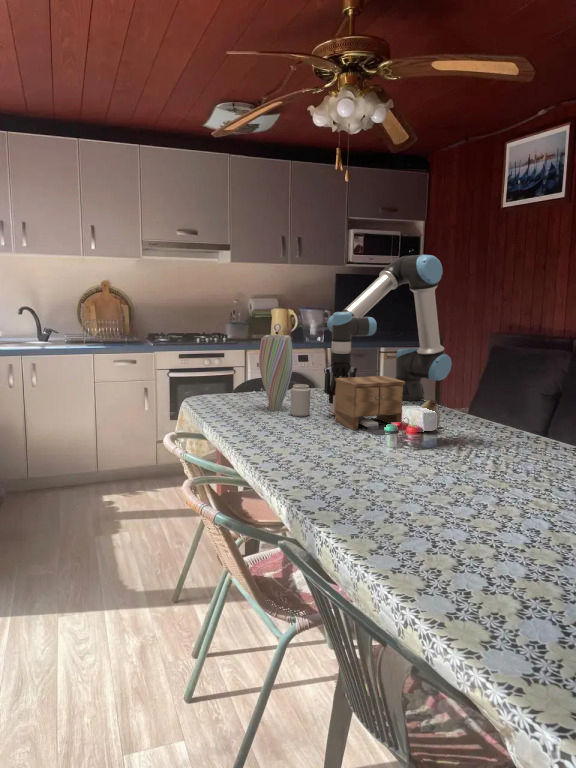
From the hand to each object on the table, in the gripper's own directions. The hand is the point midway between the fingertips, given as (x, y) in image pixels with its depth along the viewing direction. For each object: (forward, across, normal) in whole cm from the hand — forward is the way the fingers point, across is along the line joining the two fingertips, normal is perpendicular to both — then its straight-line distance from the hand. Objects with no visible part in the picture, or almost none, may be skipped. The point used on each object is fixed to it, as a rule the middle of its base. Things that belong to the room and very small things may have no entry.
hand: (339, 410), depth 231 cm
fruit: (+2, -18, +33) cm, 37 cm away
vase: (+2, +20, -19) cm, 28 cm away
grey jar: (+2, +14, -5) cm, 16 cm away
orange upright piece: (+1, 0, +12) cm, 12 cm away
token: (+2, 0, +30) cm, 30 cm away
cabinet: (+2, -4, +16) cm, 17 cm away
